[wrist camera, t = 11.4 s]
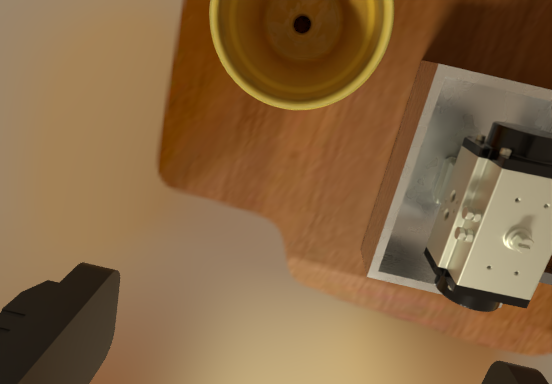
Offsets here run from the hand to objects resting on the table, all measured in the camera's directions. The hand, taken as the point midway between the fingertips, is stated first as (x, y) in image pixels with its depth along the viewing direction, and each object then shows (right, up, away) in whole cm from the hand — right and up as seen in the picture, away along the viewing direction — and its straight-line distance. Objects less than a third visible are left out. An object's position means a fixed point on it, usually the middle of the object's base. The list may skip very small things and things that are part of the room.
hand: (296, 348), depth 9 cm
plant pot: (+2, +16, +24) cm, 29 cm away
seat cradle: (+14, +5, +27) cm, 31 cm away
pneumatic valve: (+14, +4, +27) cm, 30 cm away
